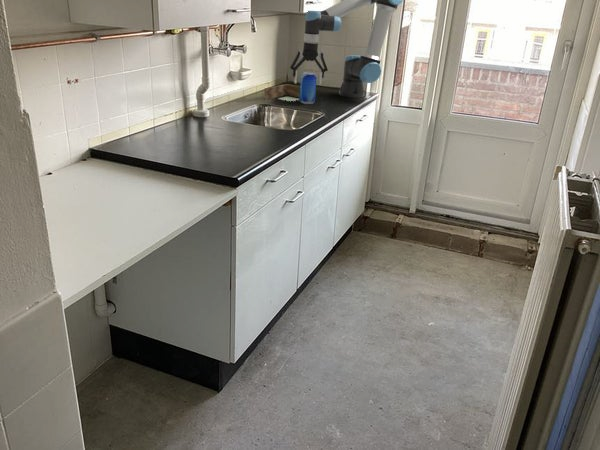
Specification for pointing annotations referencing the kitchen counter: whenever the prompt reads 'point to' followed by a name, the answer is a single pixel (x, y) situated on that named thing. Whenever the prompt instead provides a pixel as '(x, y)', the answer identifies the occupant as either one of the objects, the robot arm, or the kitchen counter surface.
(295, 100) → the pad
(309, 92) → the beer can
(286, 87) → the corner walls
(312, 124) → the kitchen counter surface
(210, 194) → the kitchen counter surface
